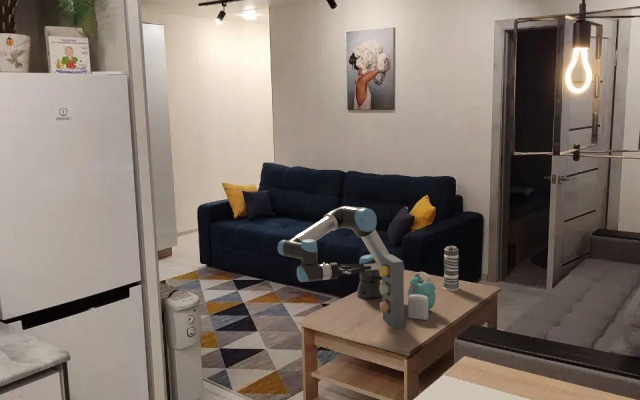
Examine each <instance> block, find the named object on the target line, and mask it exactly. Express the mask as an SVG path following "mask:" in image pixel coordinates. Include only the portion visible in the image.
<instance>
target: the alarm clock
mask: <svg viewBox="0 0 640 400" xmlns="http://www.w3.org/2000/svg"><path fill="white" fill-rule="evenodd" d="M420 275H423V276H425V278H426V280H424V279H423V278H422V277H421V276H420ZM409 283H410V284H409V285H410V286H409V288H408V292H407V294H408V295H407V296H408V297H407V299H408V298H409V295H413V294H419V295H424V296H426V297H428V310H431V309H432V308H433V307H434V306H435V302H436V292H435V291H436V285H435V283H434V282H433V281H432V279H431V277H430V275H429V274H428V273H426V272H424V271H419V272H417V273H416V274H415V275H414V276H413V277H411V279H410V281H409Z"/></svg>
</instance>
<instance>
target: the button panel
mask: <svg viewBox="0 0 640 400" xmlns="http://www.w3.org/2000/svg"><path fill="white" fill-rule="evenodd" d="M403 265H404V260H401V258H398V257H397V256H395V255H394V254H391V255H383V256H382V266H389V267H390V276H384V277H382V280H381V284H387V283H388V284H390V294H382V295H383V296H382V302H384V301H389V302H390V311H387V312H382V319H383V321H385V323H386V324H388V326H390V327H391V328H393V329H400V328H405V307H404V306H405V304H404V303H405V300H404V299H405V296H404V295H405V294H404V284H405V283H404V273H403Z"/></svg>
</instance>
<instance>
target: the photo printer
mask: <svg viewBox="0 0 640 400" xmlns="http://www.w3.org/2000/svg"><path fill="white" fill-rule="evenodd" d="M407 318H409V319H414V320H416V319H417V320H423V321H424V320H426V321H427V320H429V309H428V297H426V296H424V295H419V294H413V295H409V298H408V297H407Z"/></svg>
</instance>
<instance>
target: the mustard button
mask: <svg viewBox="0 0 640 400" xmlns="http://www.w3.org/2000/svg"><path fill="white" fill-rule="evenodd" d="M379 274H380V276H381V277H384V276H390V267H389V266H381V267H379Z"/></svg>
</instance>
